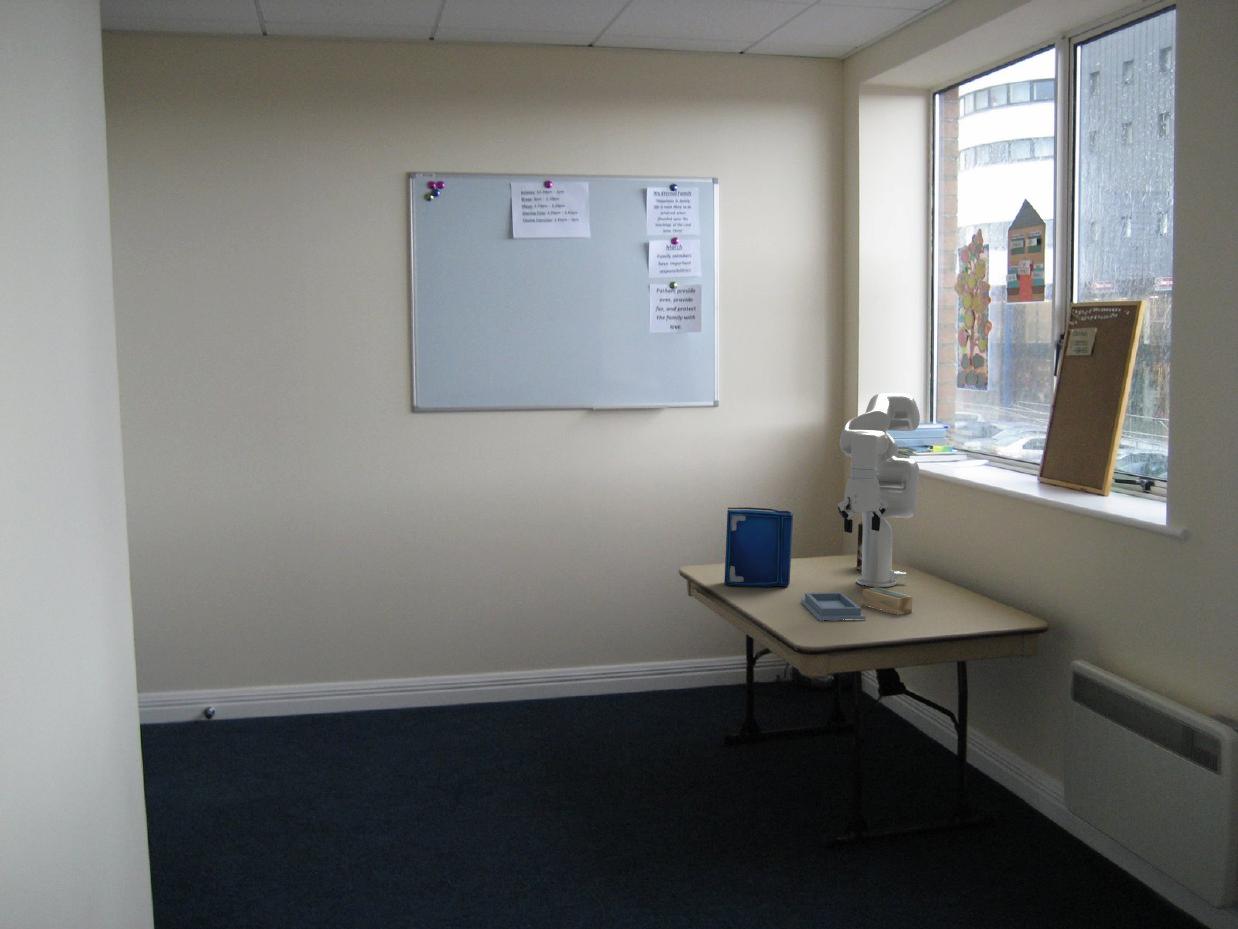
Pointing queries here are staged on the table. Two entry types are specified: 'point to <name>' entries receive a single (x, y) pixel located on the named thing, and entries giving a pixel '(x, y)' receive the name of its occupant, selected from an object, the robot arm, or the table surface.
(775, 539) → the book
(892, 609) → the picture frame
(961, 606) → the table surface
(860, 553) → the coffee box
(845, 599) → the blue tray
